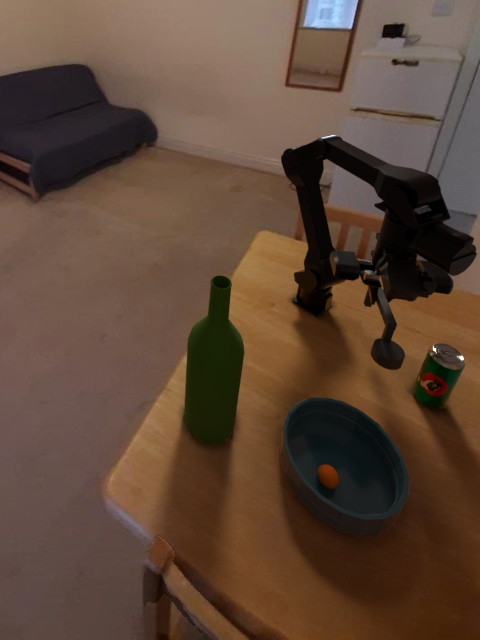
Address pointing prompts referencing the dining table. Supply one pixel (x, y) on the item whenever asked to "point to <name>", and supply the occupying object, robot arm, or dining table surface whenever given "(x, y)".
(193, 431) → the wine bottle
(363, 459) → the bowl
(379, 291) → the ladle
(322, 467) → the orange ball
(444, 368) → the soda can
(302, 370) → the dining table surface
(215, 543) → the dining table surface
